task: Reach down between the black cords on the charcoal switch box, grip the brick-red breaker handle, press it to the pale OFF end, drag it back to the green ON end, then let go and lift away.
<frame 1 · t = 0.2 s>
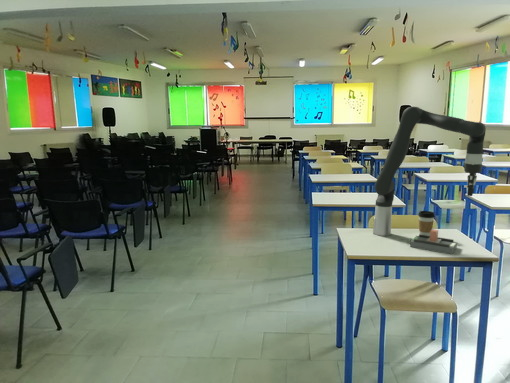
hand: (470, 194, 196), 28 cm above the table, tool pointing down, fingers open, 8 cm apart
breaker handle: (433, 235, 201), point 6 cm above the table, slide at 6.0 cm
coffee cup: (424, 237, 220), on the table
switch box: (433, 247, 202), on the table
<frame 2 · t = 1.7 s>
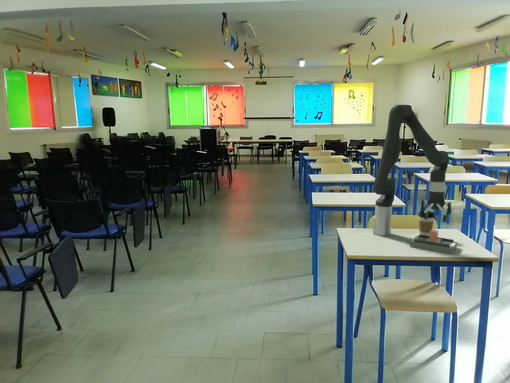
hand: (435, 220, 200), 14 cm above the table, tool pointing down, fingers open, 8 cm apart
nothing on the table moved.
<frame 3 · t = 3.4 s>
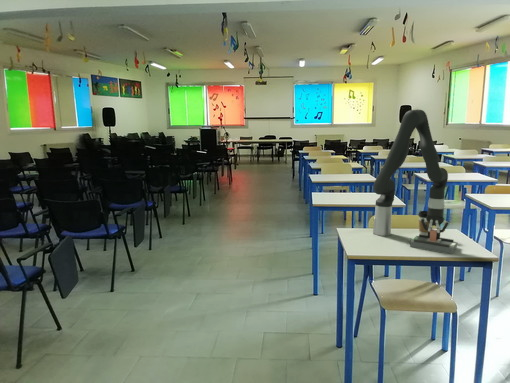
hand: (433, 238, 202), 5 cm above the table, tool pointing down, fingers closed on breaker handle, 3 cm apart
breaker handle: (433, 235, 201), point 6 cm above the table, slide at 6.0 cm, touching gripper
everything else where it was.
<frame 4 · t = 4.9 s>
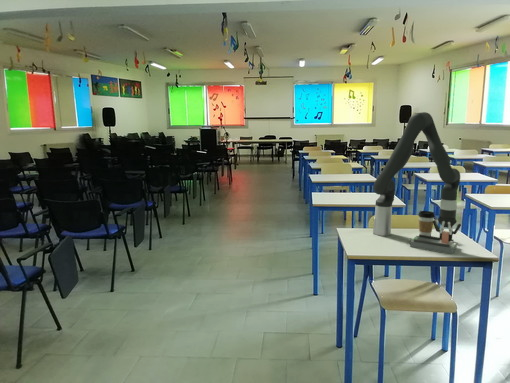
hand: (445, 240, 198), 5 cm above the table, tool pointing down, fingers closed on breaker handle, 3 cm apart
breaker handle: (445, 237, 198), point 6 cm above the table, slide at 11.7 cm, touching gripper
everything else where it was.
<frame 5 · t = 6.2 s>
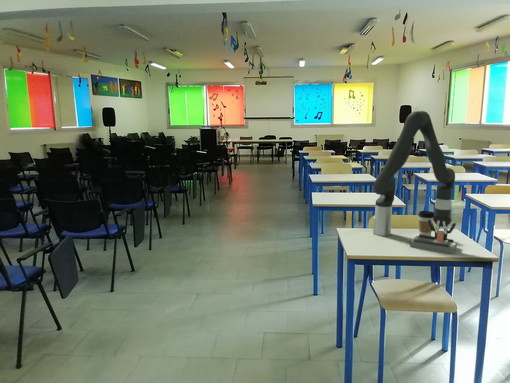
hand: (440, 239, 199), 5 cm above the table, tool pointing down, fingers closed on breaker handle, 3 cm apart
breaker handle: (440, 237, 199), point 6 cm above the table, slide at 9.4 cm, touching gripper
everything else where it was.
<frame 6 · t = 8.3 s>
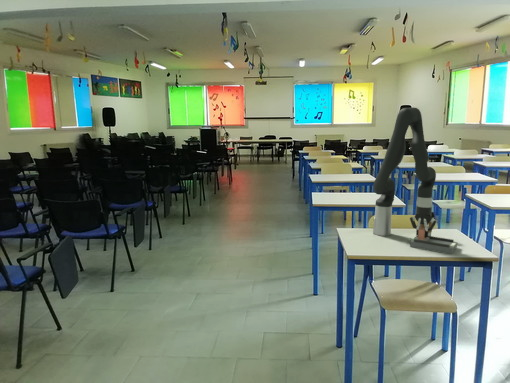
hand: (422, 236, 205), 5 cm above the table, tool pointing down, fingers closed on breaker handle, 3 cm apart
breaker handle: (422, 234, 205), point 6 cm above the table, slide at 0.2 cm, touching gripper
everything else where it was.
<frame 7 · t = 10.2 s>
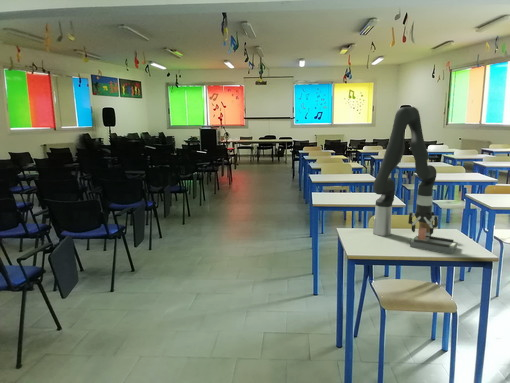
hand: (422, 233, 205), 7 cm above the table, tool pointing down, fingers open, 8 cm apart
breaker handle: (422, 234, 205), point 6 cm above the table, slide at 0.2 cm
everything else where it was.
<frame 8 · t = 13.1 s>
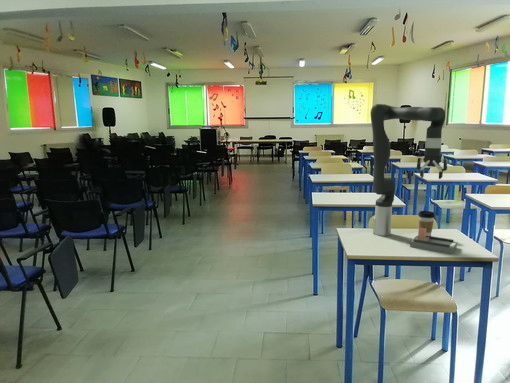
hand: (430, 178, 201), 36 cm above the table, tool pointing down, fingers open, 8 cm apart
nothing on the table moved.
at the end: breaker handle slide at 0.2 cm; the gripper is holding nothing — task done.
